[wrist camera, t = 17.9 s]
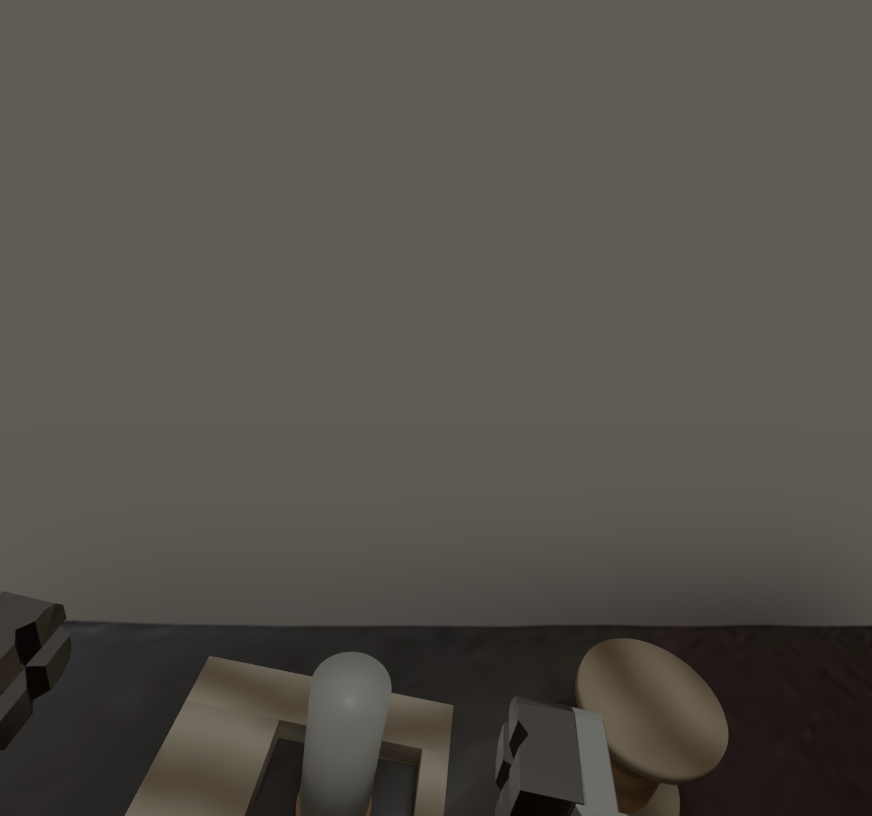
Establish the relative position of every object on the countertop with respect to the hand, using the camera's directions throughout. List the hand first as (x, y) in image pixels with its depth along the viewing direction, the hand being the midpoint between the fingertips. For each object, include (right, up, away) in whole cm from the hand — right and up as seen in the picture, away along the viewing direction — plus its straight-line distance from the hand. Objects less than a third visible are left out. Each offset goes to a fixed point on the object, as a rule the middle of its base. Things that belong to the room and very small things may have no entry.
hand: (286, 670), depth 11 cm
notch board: (-6, -19, +27) cm, 33 cm away
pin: (-4, -20, +25) cm, 32 cm away
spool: (+14, -21, +30) cm, 39 cm away
